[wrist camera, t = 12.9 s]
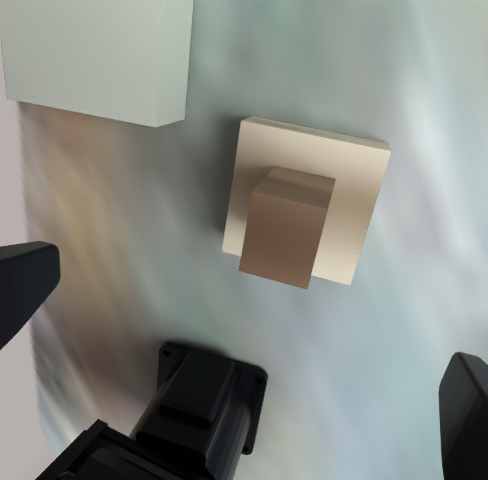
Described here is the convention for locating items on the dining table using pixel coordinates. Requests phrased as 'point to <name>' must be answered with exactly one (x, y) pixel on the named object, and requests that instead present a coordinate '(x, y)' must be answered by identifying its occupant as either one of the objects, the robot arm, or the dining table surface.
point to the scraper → (301, 201)
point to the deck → (99, 56)
